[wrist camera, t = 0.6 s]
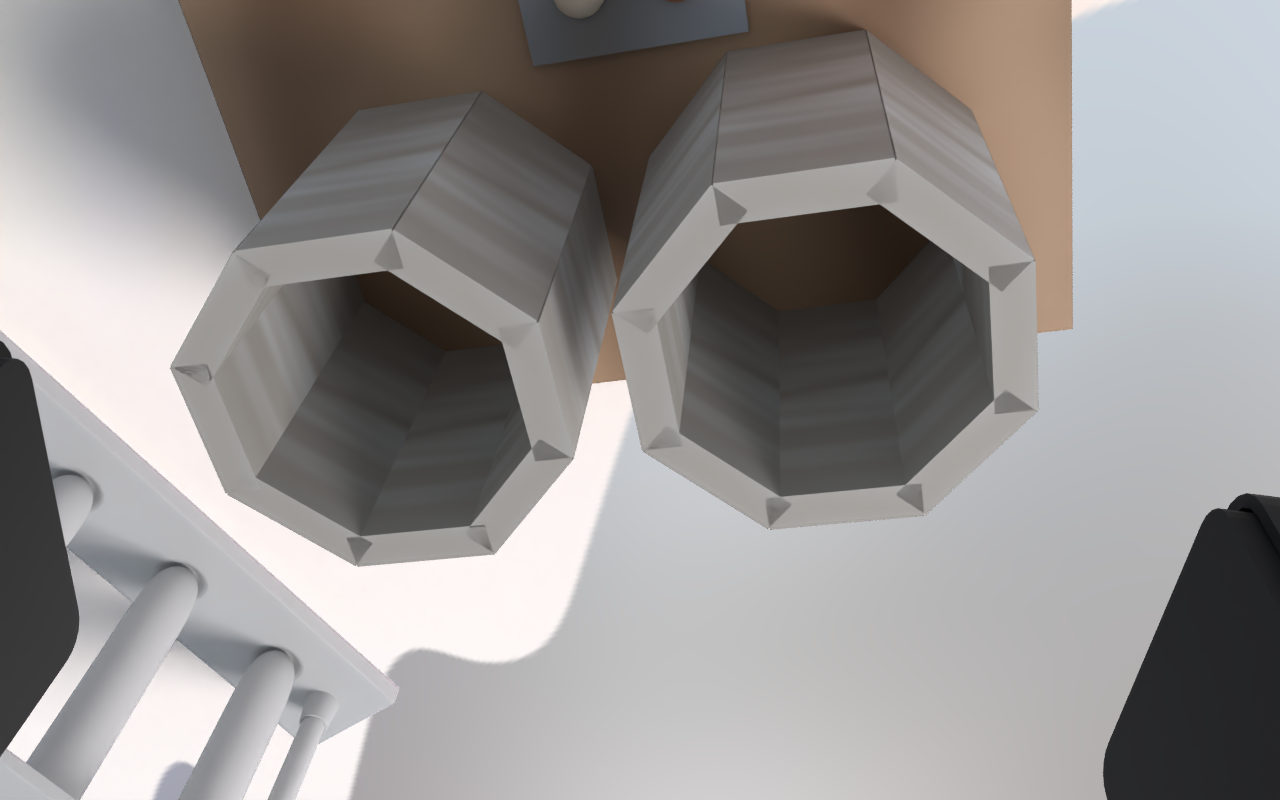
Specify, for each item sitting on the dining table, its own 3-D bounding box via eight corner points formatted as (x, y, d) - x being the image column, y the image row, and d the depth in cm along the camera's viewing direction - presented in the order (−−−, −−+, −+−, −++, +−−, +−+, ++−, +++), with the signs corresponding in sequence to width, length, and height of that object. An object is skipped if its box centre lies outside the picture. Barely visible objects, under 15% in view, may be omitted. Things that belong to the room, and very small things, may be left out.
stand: (1047, -543, 23) (1204, -648, 15) (1056, 292, 32) (1156, 523, 24) (105, -321, 27) (-205, -303, 18) (353, 376, 36) (223, 603, 27)
